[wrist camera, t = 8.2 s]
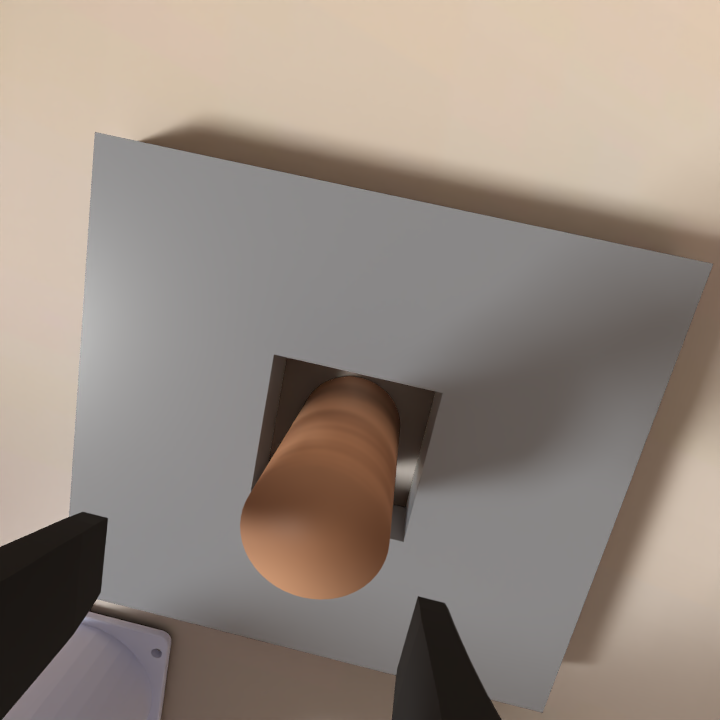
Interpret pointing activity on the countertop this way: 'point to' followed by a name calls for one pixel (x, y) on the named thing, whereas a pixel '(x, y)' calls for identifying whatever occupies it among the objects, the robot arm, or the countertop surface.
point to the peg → (327, 494)
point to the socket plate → (375, 359)
